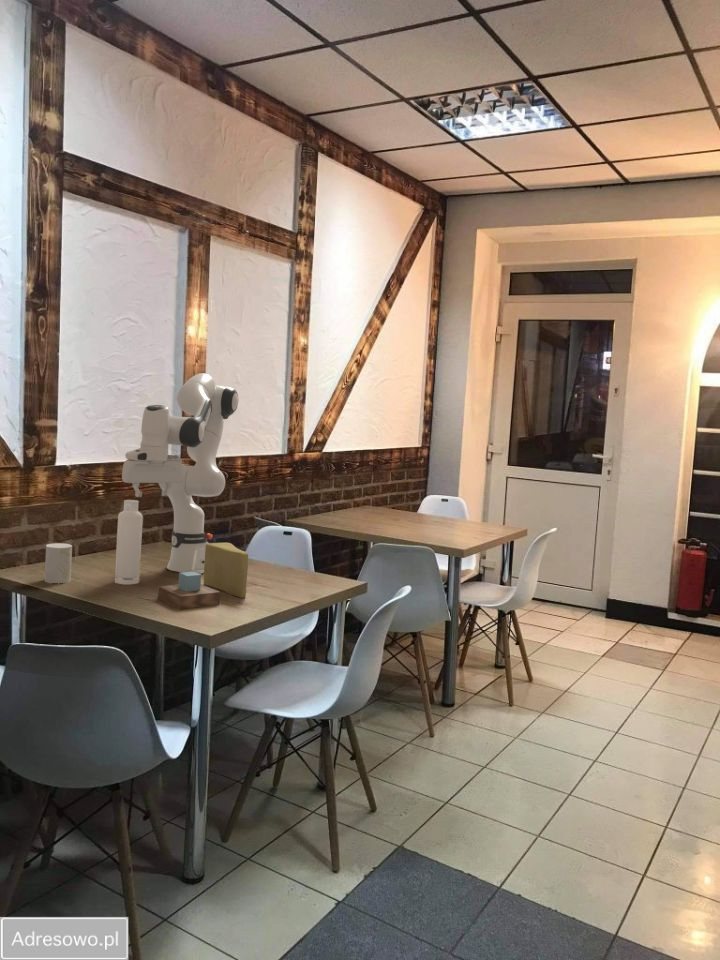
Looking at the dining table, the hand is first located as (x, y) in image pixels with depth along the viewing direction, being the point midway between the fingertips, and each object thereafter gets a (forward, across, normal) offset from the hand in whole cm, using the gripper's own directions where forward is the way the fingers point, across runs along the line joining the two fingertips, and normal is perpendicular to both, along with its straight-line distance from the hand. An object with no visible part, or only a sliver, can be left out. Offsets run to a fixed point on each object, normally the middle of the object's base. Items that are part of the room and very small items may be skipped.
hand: (151, 496), depth 261 cm
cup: (+31, +21, -22) cm, 44 cm away
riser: (+31, -4, +20) cm, 37 cm away
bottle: (+31, +1, -12) cm, 34 cm away
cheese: (+31, -24, +13) cm, 42 cm away
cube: (+27, -4, +20) cm, 34 cm away
